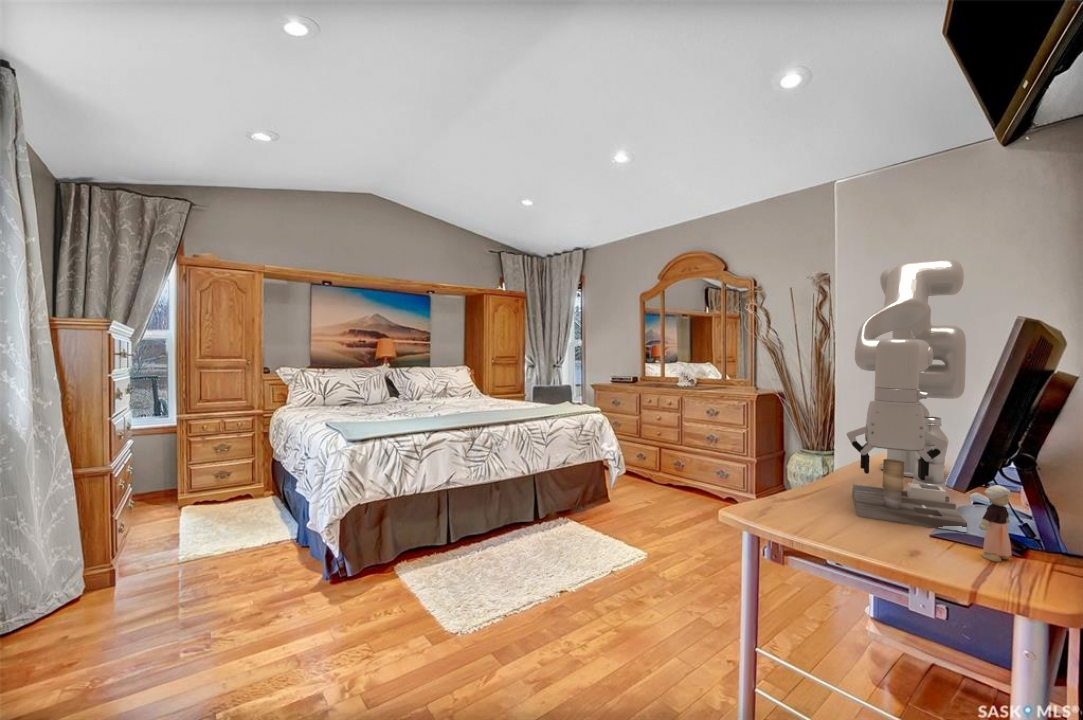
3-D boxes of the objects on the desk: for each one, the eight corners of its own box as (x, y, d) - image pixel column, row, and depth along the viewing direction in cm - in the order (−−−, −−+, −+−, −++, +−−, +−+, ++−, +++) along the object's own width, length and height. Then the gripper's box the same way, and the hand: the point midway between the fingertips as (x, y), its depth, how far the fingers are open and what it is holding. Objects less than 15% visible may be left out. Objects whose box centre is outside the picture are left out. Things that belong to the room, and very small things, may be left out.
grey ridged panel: (851, 495, 116) (852, 482, 116) (946, 508, 107) (946, 494, 107) (857, 516, 102) (858, 501, 102) (966, 532, 94) (967, 517, 93)
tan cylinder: (881, 502, 105) (882, 458, 105) (901, 505, 103) (902, 460, 103) (883, 507, 102) (884, 461, 102) (904, 510, 100) (905, 464, 100)
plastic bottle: (932, 496, 116) (935, 415, 115) (953, 506, 109) (956, 420, 108) (904, 495, 116) (906, 414, 115) (923, 505, 110) (926, 419, 109)
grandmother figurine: (1004, 566, 79) (1007, 492, 79) (974, 557, 83) (977, 486, 82) (1017, 555, 84) (1020, 484, 83) (988, 547, 87) (991, 479, 86)
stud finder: (907, 495, 109) (907, 482, 109) (940, 499, 106) (941, 486, 106) (910, 500, 105) (910, 486, 105) (945, 505, 102) (945, 490, 102)
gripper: (943, 397, 101) (940, 477, 101) (846, 392, 109) (844, 466, 109) (952, 400, 94) (949, 486, 94) (849, 395, 103) (846, 473, 103)
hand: (893, 475), depth 102 cm, fingers open, 9 cm apart
